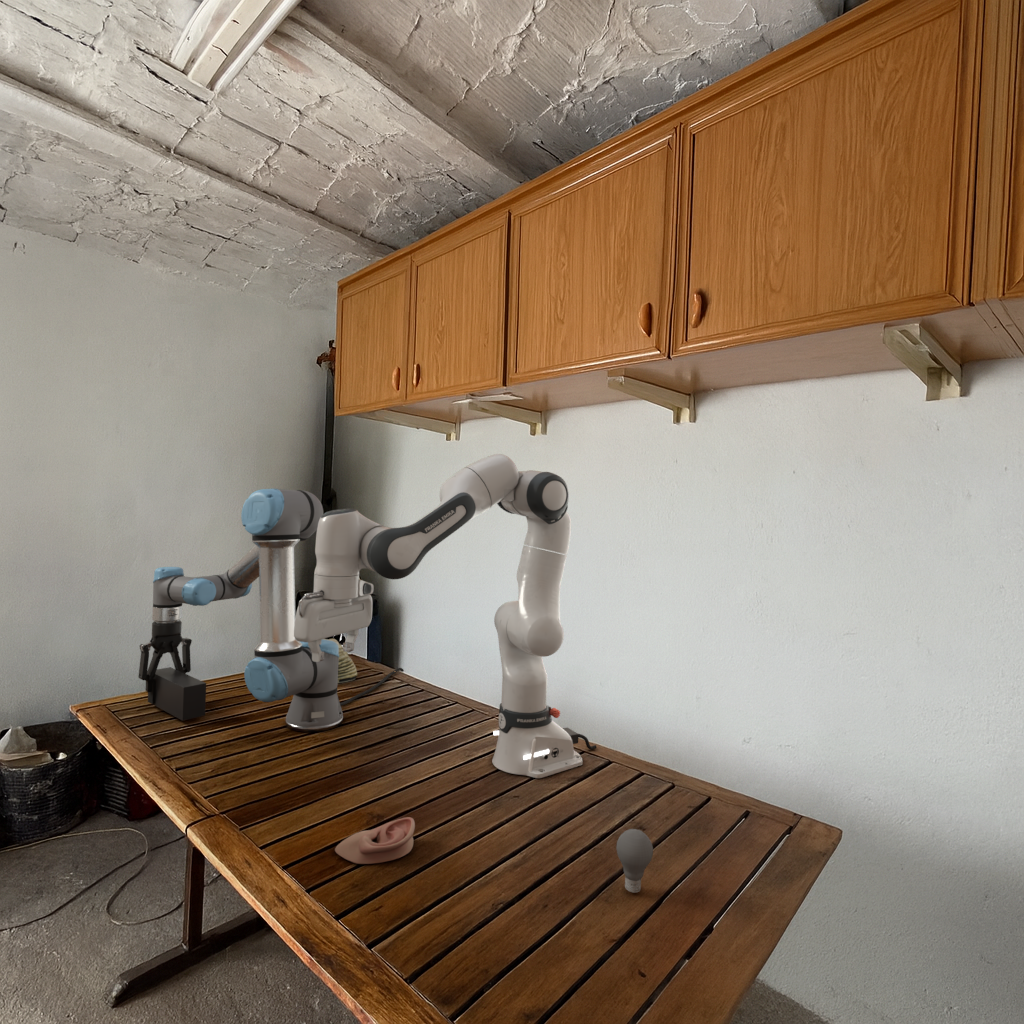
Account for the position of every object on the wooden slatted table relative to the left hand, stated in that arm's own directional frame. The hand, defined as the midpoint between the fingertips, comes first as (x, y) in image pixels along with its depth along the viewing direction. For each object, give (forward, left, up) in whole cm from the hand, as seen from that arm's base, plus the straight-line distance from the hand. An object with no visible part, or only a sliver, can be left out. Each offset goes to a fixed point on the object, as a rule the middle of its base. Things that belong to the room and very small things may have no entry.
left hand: (164, 699), depth 183 cm
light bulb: (-15, +143, -2) cm, 144 cm away
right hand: (+3, +83, +29) cm, 88 cm away
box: (0, +7, -1) cm, 7 cm away
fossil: (-49, +10, -2) cm, 50 cm away
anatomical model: (+6, +102, -2) cm, 102 cm away
